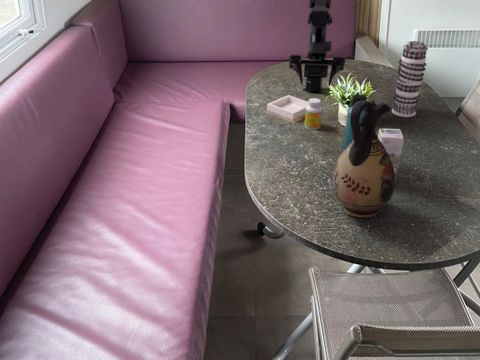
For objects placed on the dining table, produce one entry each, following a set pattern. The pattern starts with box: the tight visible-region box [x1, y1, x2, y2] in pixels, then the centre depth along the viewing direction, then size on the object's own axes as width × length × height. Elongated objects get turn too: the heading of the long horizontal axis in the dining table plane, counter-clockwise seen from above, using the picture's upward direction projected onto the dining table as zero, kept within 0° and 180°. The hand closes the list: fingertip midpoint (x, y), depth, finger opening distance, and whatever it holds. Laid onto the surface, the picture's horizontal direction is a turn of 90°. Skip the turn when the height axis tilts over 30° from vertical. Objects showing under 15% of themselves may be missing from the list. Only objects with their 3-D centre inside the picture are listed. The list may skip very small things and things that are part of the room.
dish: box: [266, 94, 309, 123], centre depth 181 cm, size 12×12×3 cm
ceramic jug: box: [331, 99, 396, 218], centre depth 122 cm, size 17×15×30 cm
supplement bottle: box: [304, 97, 323, 131], centre depth 169 cm, size 5×5×10 cm
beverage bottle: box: [342, 93, 368, 153], centre depth 148 cm, size 6×7×20 cm
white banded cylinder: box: [391, 40, 429, 118], centre depth 176 cm, size 9×9×25 cm
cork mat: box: [263, 109, 305, 124], centre depth 182 cm, size 14×14×1 cm
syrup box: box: [377, 128, 404, 182], centre depth 139 cm, size 6×6×14 cm
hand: (315, 85), depth 171 cm, fingers open, 9 cm apart
